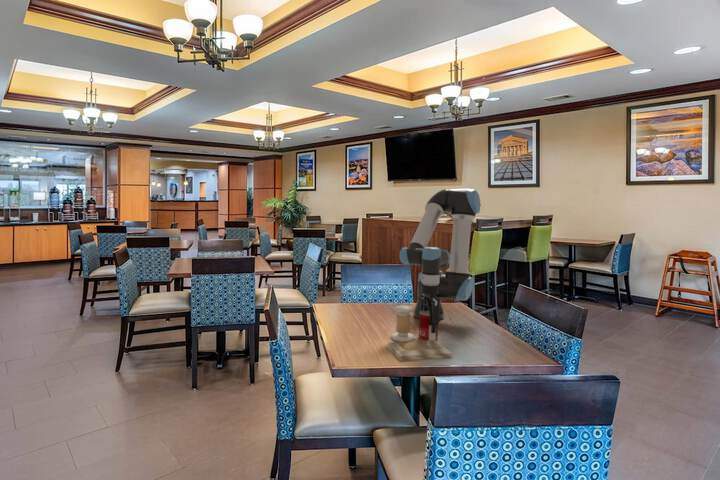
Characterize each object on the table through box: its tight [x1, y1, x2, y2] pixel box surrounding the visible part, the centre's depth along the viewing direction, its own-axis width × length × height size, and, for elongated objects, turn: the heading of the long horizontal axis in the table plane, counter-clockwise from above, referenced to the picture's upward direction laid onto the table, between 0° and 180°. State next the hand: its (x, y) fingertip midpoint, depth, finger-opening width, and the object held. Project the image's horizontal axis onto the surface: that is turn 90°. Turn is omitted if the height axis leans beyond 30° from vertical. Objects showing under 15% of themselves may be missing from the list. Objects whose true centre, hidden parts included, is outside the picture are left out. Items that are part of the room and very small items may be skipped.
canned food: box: [418, 310, 439, 341], centre depth 189 cm, size 8×8×11 cm
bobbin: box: [390, 305, 416, 343], centre depth 188 cm, size 10×10×13 cm
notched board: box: [387, 339, 452, 362], centre depth 171 cm, size 20×15×2 cm
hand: (428, 336), depth 190 cm, fingers closed on canned food, 8 cm apart
